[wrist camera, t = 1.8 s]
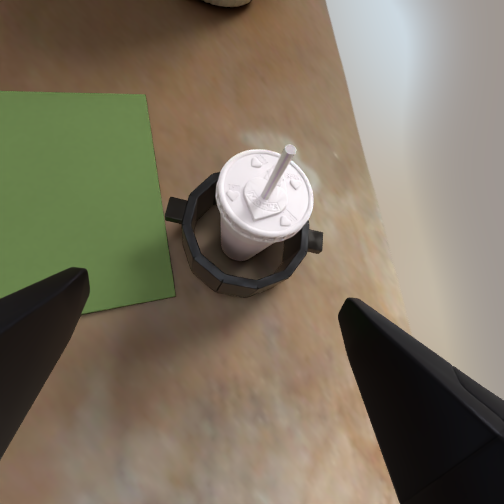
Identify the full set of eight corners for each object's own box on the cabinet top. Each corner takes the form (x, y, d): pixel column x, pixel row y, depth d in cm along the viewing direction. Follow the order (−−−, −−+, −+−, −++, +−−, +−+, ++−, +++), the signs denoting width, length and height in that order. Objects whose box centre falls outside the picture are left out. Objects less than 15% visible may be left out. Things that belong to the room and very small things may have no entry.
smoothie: (194, 256, 24) (201, 156, 11) (224, 202, 26) (259, 68, 13) (256, 286, 24) (336, 226, 11) (280, 230, 26) (367, 128, 13)
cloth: (175, 296, 22) (175, 296, 22) (-46, 339, 18) (-50, 339, 18) (145, 96, 28) (145, 94, 27) (-29, 92, 23) (-31, 90, 23)
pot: (298, 307, 24) (321, 301, 20) (156, 281, 22) (148, 269, 18) (305, 211, 28) (326, 189, 24) (183, 181, 26) (182, 151, 21)
